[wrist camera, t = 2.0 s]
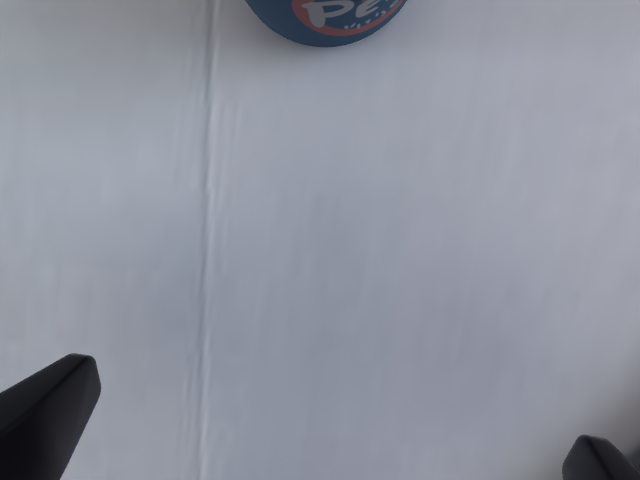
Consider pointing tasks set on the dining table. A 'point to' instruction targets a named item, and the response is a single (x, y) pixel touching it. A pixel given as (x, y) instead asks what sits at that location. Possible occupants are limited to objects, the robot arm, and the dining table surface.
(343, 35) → the soda can
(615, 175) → the dining table surface
